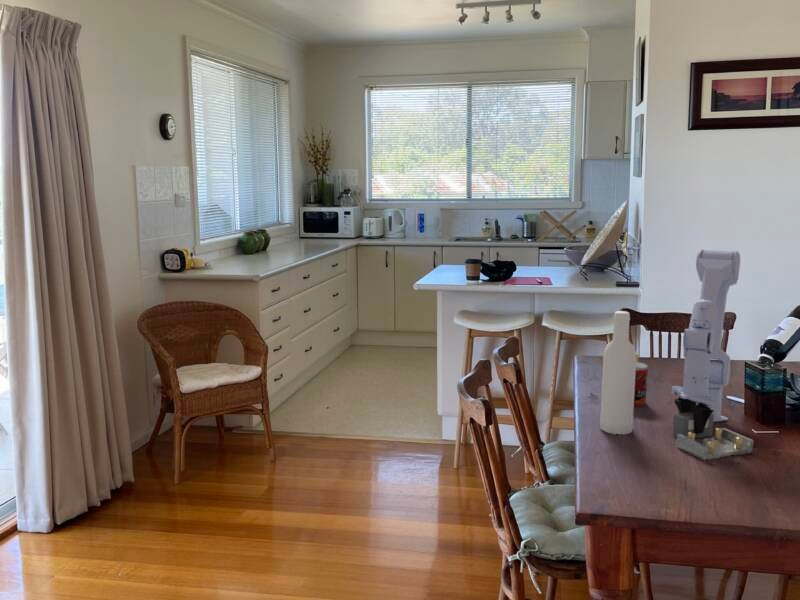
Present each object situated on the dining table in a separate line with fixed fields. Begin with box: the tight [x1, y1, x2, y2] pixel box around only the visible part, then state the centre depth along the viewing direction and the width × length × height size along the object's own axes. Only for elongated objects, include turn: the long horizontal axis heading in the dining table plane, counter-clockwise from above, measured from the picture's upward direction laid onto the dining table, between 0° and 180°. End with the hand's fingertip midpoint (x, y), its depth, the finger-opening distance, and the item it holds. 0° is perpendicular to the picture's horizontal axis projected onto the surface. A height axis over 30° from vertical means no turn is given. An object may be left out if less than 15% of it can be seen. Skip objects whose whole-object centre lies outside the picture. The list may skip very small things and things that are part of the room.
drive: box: [672, 412, 714, 439], centre depth 185 cm, size 4×9×6 cm, turn 110°
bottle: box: [599, 310, 637, 436], centre depth 188 cm, size 8×8×30 cm
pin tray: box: [675, 427, 754, 461], centre depth 176 cm, size 9×14×4 cm, turn 110°
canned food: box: [634, 361, 649, 407], centre depth 212 cm, size 8×8×11 cm
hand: (692, 430), depth 186 cm, fingers closed on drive, 4 cm apart
